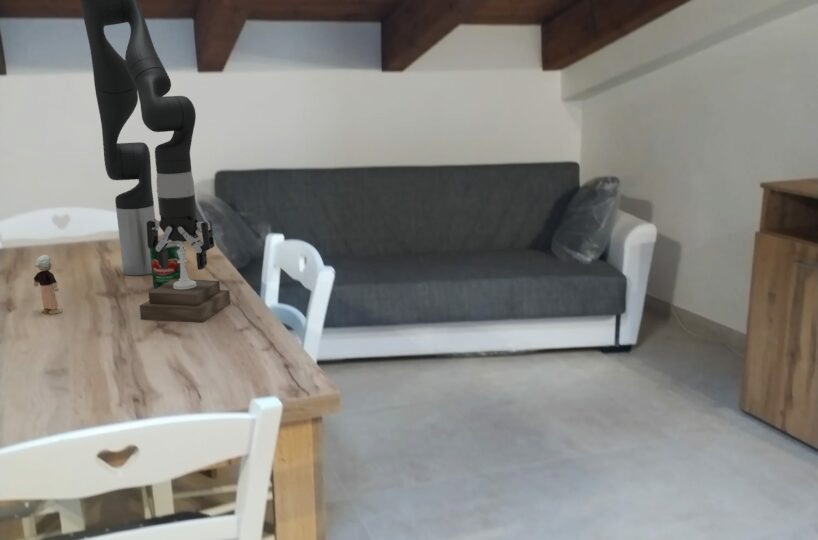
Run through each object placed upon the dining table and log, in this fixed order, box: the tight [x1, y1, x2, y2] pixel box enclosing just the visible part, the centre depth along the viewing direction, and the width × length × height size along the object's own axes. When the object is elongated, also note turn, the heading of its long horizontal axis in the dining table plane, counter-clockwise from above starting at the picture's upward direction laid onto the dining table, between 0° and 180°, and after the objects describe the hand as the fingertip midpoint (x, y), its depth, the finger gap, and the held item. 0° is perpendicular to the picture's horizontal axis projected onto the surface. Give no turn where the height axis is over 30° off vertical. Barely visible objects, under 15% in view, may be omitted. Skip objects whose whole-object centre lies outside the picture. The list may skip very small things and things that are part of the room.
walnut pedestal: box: [139, 279, 231, 323], centre depth 173 cm, size 14×14×6 cm
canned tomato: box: [150, 241, 185, 290], centre depth 191 cm, size 8×8×11 cm
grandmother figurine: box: [33, 254, 63, 315], centre depth 173 cm, size 8×4×13 cm, turn 71°
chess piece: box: [173, 241, 197, 290], centre depth 171 cm, size 5×5×10 cm
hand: (183, 268), depth 171 cm, fingers open, 8 cm apart
